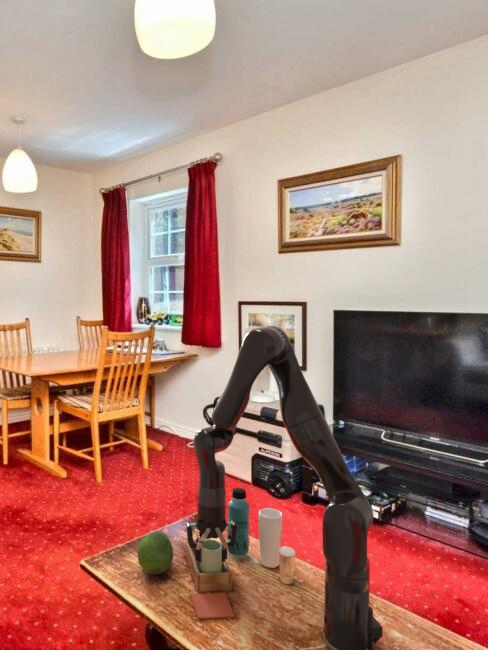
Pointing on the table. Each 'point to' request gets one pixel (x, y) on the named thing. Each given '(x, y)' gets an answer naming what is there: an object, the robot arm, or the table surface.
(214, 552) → the cup
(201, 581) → the brown wooden shelf
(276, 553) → the drinking glass
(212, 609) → the coaster mat
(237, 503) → the beverage bottle
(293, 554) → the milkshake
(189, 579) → the table surface
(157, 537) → the fruit
